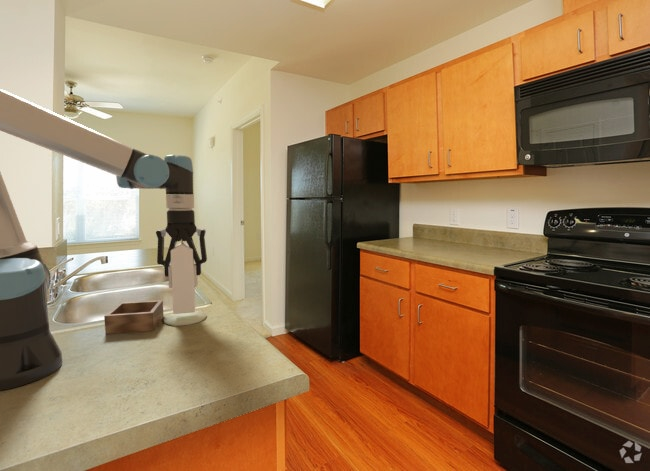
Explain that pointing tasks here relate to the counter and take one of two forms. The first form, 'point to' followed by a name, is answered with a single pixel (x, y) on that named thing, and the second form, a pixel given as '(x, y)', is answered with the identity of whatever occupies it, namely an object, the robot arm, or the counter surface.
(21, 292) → the robot arm
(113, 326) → the sleeve
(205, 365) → the counter surface
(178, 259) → the milk
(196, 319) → the cream glossy dome
